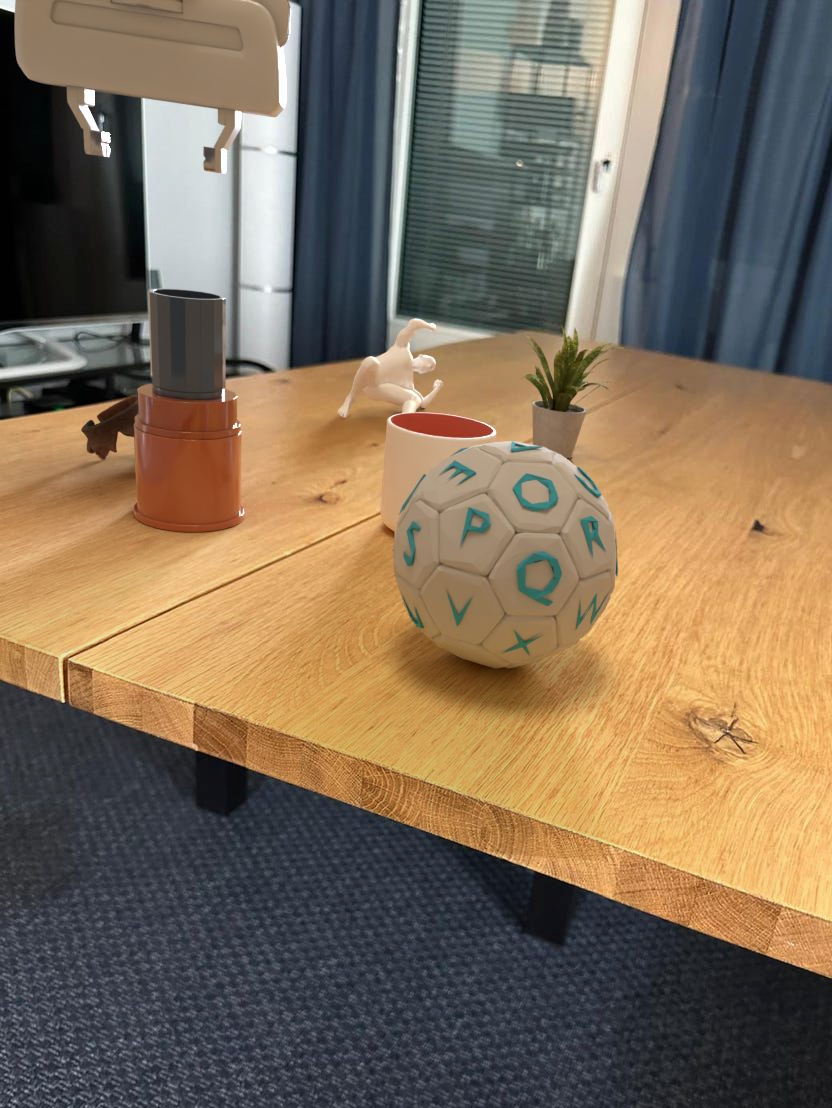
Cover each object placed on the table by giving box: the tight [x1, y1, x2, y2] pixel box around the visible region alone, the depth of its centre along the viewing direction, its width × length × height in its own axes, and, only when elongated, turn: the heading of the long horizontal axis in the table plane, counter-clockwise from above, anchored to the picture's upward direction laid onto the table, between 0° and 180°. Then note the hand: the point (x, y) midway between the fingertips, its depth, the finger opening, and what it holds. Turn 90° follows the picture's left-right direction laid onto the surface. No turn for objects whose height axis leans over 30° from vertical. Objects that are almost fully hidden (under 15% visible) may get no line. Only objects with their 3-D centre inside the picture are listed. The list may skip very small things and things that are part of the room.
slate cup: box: [147, 288, 227, 400], centre depth 78 cm, size 6×6×8 cm
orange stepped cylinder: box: [132, 383, 245, 533], centre depth 82 cm, size 10×10×11 cm
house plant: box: [521, 324, 631, 459], centre depth 118 cm, size 14×14×16 cm
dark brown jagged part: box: [80, 394, 138, 461], centre depth 95 cm, size 12×10×8 cm
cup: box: [379, 411, 497, 533], centre depth 86 cm, size 10×10×10 cm
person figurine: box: [337, 317, 444, 419], centre depth 132 cm, size 13×13×18 cm
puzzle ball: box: [392, 440, 619, 670], centre depth 62 cm, size 15×15×15 cm
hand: (156, 164), depth 75 cm, fingers open, 8 cm apart
